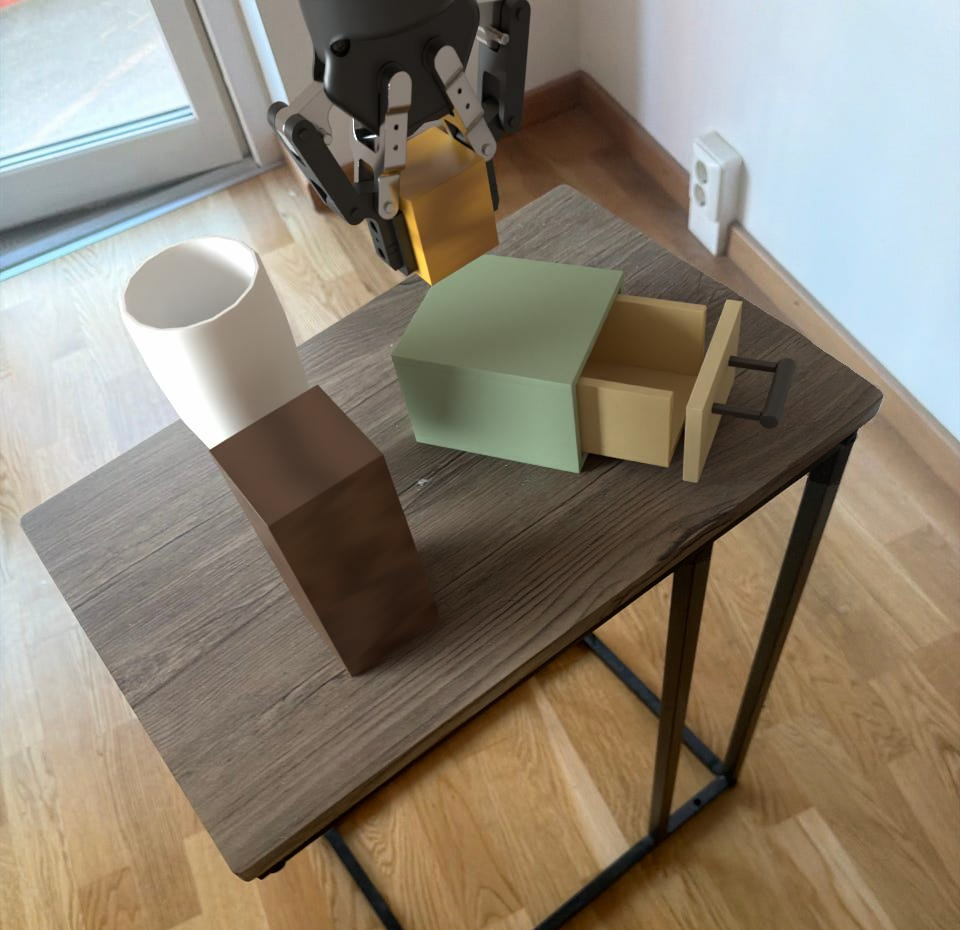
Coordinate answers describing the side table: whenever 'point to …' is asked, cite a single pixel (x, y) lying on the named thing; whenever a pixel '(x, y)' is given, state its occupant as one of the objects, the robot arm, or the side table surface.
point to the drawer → (667, 382)
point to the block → (445, 204)
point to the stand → (331, 526)
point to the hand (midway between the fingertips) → (442, 242)
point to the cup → (213, 334)
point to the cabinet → (505, 358)
